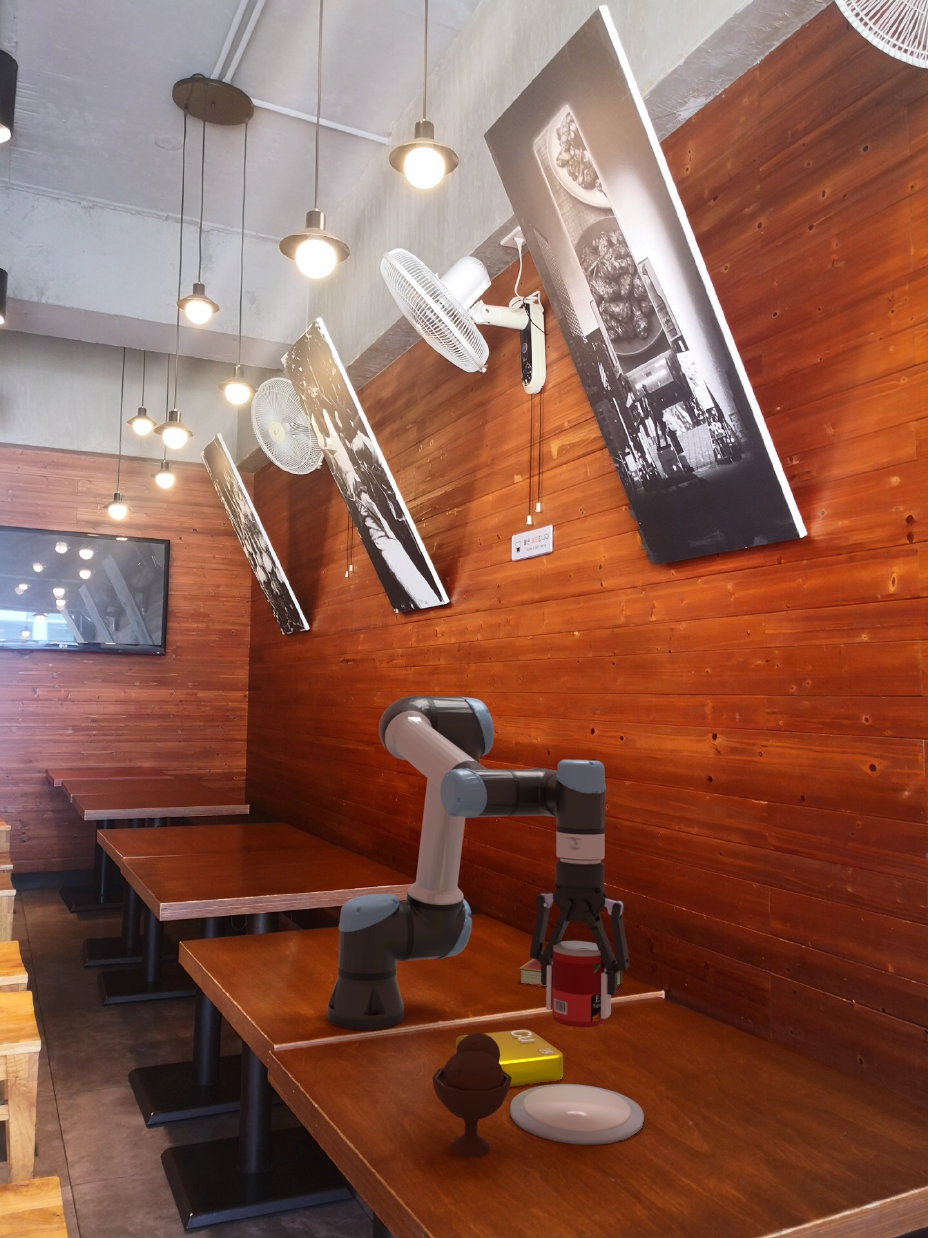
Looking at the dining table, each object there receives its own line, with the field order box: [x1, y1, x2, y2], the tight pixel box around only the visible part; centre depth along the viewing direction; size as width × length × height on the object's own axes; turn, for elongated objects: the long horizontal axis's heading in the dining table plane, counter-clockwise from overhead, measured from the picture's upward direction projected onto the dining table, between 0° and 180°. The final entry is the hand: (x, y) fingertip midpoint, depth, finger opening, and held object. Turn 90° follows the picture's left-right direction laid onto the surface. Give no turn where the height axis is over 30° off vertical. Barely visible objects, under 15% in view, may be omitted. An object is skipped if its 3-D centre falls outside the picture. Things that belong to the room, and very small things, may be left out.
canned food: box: [551, 940, 605, 1029], centre depth 147 cm, size 8×8×11 cm
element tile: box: [455, 1029, 564, 1088], centre depth 164 cm, size 15×15×5 cm
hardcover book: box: [518, 958, 623, 986], centre depth 220 cm, size 12×21×4 cm, turn 67°
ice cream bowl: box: [432, 1032, 512, 1158], centre depth 134 cm, size 11×11×15 cm
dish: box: [510, 1083, 645, 1146], centre depth 145 cm, size 20×20×2 cm
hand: (578, 1011), depth 147 cm, fingers closed on canned food, 8 cm apart
